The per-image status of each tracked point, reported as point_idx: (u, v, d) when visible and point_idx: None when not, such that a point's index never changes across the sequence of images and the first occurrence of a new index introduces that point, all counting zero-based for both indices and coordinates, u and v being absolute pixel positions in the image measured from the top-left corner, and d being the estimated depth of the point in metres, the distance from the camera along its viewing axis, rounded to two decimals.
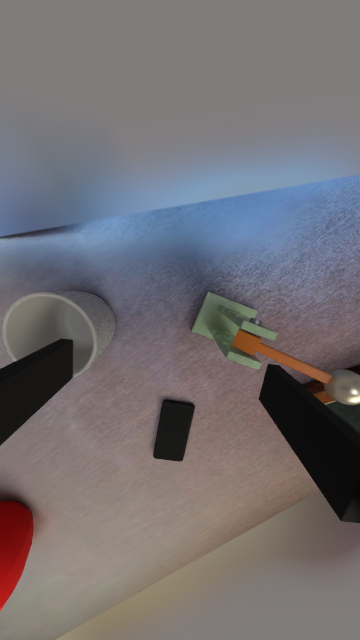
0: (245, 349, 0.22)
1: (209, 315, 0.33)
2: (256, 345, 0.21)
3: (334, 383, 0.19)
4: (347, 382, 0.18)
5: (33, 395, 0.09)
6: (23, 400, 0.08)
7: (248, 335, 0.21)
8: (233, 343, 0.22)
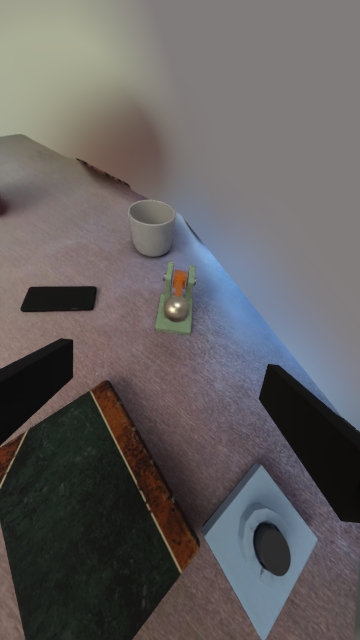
0: (176, 273, 0.32)
1: None
2: (181, 275, 0.32)
3: None
4: (183, 298, 0.24)
5: (33, 395, 0.09)
6: (23, 400, 0.08)
7: (185, 273, 0.33)
8: (176, 270, 0.34)
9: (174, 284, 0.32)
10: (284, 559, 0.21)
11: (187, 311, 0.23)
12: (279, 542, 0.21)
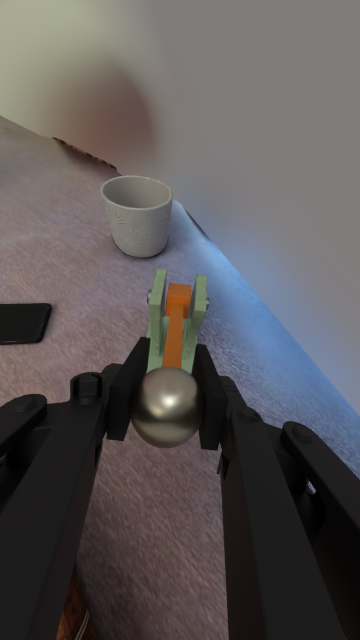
0: (171, 289, 0.17)
1: None
2: (181, 295, 0.16)
3: (172, 366, 0.09)
4: (186, 374, 0.09)
5: None
6: None
7: (189, 290, 0.17)
8: (172, 283, 0.18)
9: (168, 311, 0.17)
10: None
11: (198, 422, 0.08)
12: None
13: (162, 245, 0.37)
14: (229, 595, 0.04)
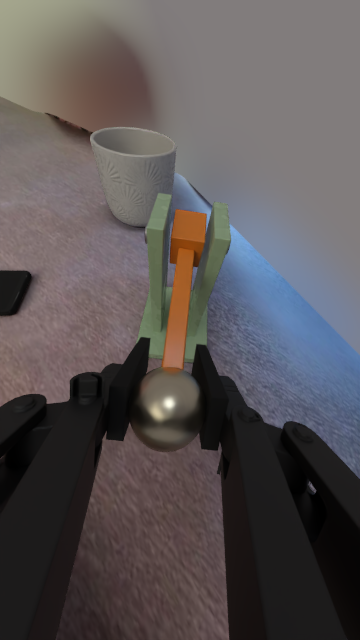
0: (177, 226, 0.12)
1: None
2: (191, 238, 0.11)
3: (172, 371, 0.08)
4: (187, 389, 0.08)
5: None
6: None
7: (203, 226, 0.12)
8: (180, 211, 0.12)
9: (173, 257, 0.13)
10: None
11: (197, 433, 0.08)
12: None
13: None
14: (229, 595, 0.04)
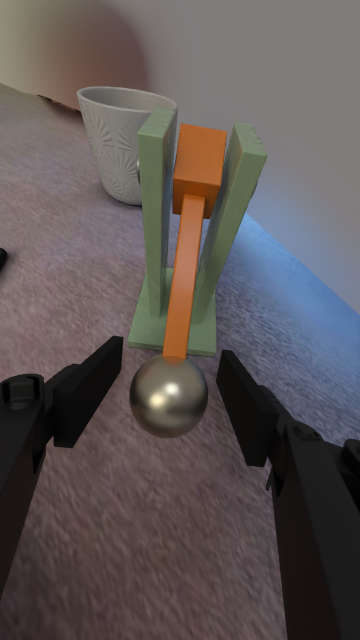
0: (182, 157, 0.08)
1: None
2: (202, 178, 0.08)
3: (173, 365, 0.07)
4: (189, 386, 0.07)
5: (104, 382, 0.10)
6: (100, 386, 0.10)
7: (220, 156, 0.08)
8: (187, 127, 0.08)
9: (177, 206, 0.10)
10: None
11: (198, 421, 0.08)
12: None
13: None
14: (290, 618, 0.04)
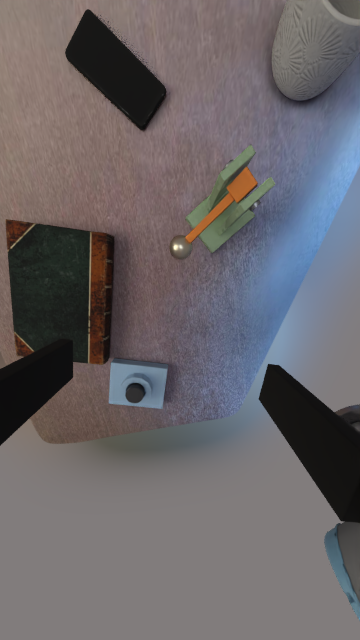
0: (235, 182, 0.21)
1: (234, 204, 0.32)
2: (234, 196, 0.22)
3: (185, 242, 0.27)
4: (184, 249, 0.27)
5: (33, 395, 0.09)
6: (23, 400, 0.08)
7: (246, 191, 0.21)
8: (247, 170, 0.20)
9: None
10: (135, 400, 0.36)
11: (181, 259, 0.29)
12: (139, 395, 0.36)
13: (314, 92, 0.28)
14: None
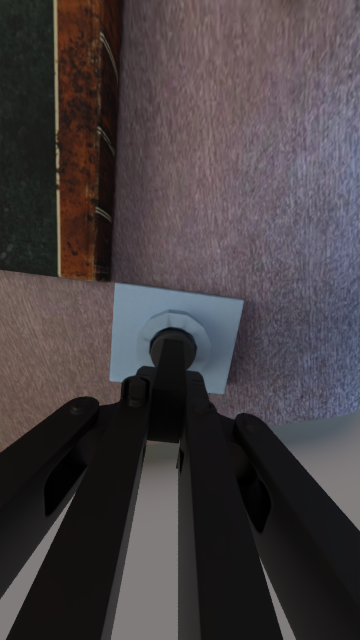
0: None
1: None
2: None
3: None
4: None
5: None
6: None
7: None
8: None
9: None
10: None
11: None
12: (185, 354, 0.15)
13: None
14: (179, 592, 0.04)
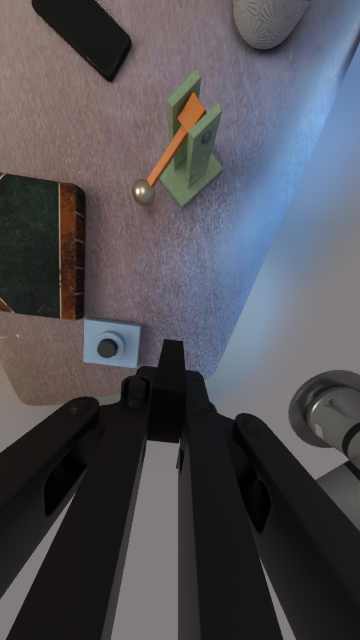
0: (184, 110, 0.22)
1: None
2: (185, 126, 0.22)
3: (145, 184, 0.27)
4: (145, 192, 0.27)
5: None
6: None
7: (196, 120, 0.22)
8: (194, 96, 0.21)
9: None
10: (107, 355, 0.37)
11: (145, 205, 0.29)
12: (110, 350, 0.36)
13: (275, 38, 0.28)
14: (179, 592, 0.04)
